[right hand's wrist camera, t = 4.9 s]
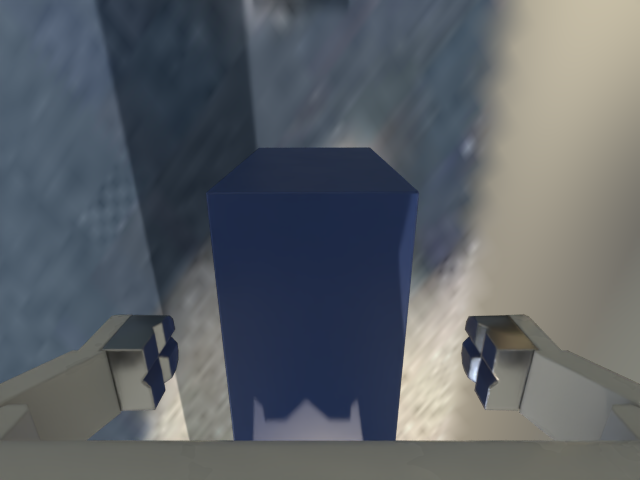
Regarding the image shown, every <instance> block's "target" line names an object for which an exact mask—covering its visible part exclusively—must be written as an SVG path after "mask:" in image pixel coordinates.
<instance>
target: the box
mask: <svg viewBox="0 0 640 480" xmlns="http://www.w3.org/2000/svg"><path fill="white" fill-rule="evenodd" d="M206 198H207V207H208V216H209V225H210V234H211V243H212V251H213V260H214V269H215V278H216V287H217V296H218V304H219V313H220V322H221V331H222V340H223V348H224V357H225V366H226V375H227V384H228V393H229V401H230V410H231V419H232V428H233V437H234V441H396V430H397V420H398V409H399V399H400V388H401V378H402V367H403V357H404V346H405V335H406V325H407V314H408V304H409V293H410V283H411V272H412V262H413V251H414V241H415V230H416V220H417V209H418V199H419V192H418V191H417V190H416V189H415V188H414V187H413V186H412V185H411V184H409V183H408V182H407V181H406V180H405V179H404V178H403V177H402V176H401V175H399V174H398V173H397V172H396V171H395V170H394V169H393V168H392V167H391V166H390V165H388V164H387V163H386V162H385V161H384V160H383V159H382V158H381V157H380V156H378V155H377V154H376V153H375V152H374V151H373V150H372V149H371V148H258V149H257V150H256V151H255V152H254V153H253V154H251V155H250V156H249V157H248V158H247V159H245V160H244V161H243V162H242V163H241V164H240V165H238V166H237V167H236V168H235V169H234V170H232V171H231V172H230V173H229V174H228V175H227V176H225V177H224V178H223V179H222V180H221V181H219V182H218V183H217V184H216V185H215V186H214V187H212V188H211V189H210V190H209V191H208V192H207V193H206Z"/></svg>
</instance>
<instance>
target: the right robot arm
mask: <svg viewBox="0 0 640 480" xmlns="http://www.w3.org/2000/svg"><path fill="white" fill-rule="evenodd" d="M174 330H175V326H174V321H173V318H172V317H171V316H164V315H114V316H111V317H110V318H109V319H108V320H107V321H106V322H105V323H104V325H103V326H102V327H101V328H100V329H99V330H98V331H97V332H96V333H95V334H94V335H93V336H92V337H91V338H90V339H89V340H88V341H87V342H86V343H85V344H84V345H83V346H82V347H81V348H80V349H79V350H78V351H70V352H68V353H66V354H64V355H62V356H59V357H57V358H55V359H53V360H51V361H49V362H46V363H44V364H42V365H40V366H38V367H36V368H33V369H31V370H29V371H27V372H25V373H23V374H21V375H18V376H16V377H14V378H12V379H10V380H8V381H5V382H3V383H1V384H0V480H640V384H639V383H637V382H634V381H632V380H630V379H628V378H626V377H624V376H622V375H619V374H617V373H615V372H613V371H611V370H609V369H606V368H604V367H602V366H600V365H598V364H596V363H593V362H591V361H589V360H587V359H585V358H583V357H580V356H578V355H576V354H574V353H572V352H570V351H562V350H561V349H560V348H559V347H558V346H557V345H556V344H555V343H554V342H553V341H552V340H551V339H550V338H549V337H548V336H547V335H546V334H545V333H544V332H543V331H542V330H541V329H540V328H539V326H538V325H537V324H536V323H535V322H534V321H533V320H532V319H531V318H530V317H529V316H526V315H499V316H469V317H468V319H467V321H466V326H465V330H466V332H467V334H468V335H469V337H468V338H467V339H466V340H465V341H464V342H463V344H462V352H461V356H462V364H463V368H464V371H465V373H466V375H467V377H468V378H469V379H470V380H472V381H473V382H475V383H476V385H475V392H476V394H477V396H478V398H479V400H480V401H481V403H482V405H483V407H484V409H485V410H506V411H519V413H520V414H522V415H523V416H524V417H525V418H527V419H528V420H529V421H530V422H532V423H533V424H534V425H535V426H537V427H538V428H539V429H540V430H542V431H543V432H544V433H545V434H547V435H548V436H549V437H550V438H551V439H553V440H554V441H86V440H87V439H89V438H90V437H91V436H92V435H94V434H95V433H96V432H97V431H99V430H100V429H101V428H102V427H104V426H105V425H106V424H107V423H109V422H110V421H111V420H112V419H114V418H115V417H116V416H117V415H119V414H120V413H121V411H134V410H155V409H156V407H157V405H158V403H159V401H160V400H161V398H162V396H163V394H164V392H165V385H164V383H165V382H167V381H168V380H170V379H171V378H172V377H173V375H174V373H175V371H176V368H177V363H178V353H179V350H178V344H177V342H176V341H175V340H174V339H173V338H172V337H171V335H172V334H173V332H174Z"/></svg>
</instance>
